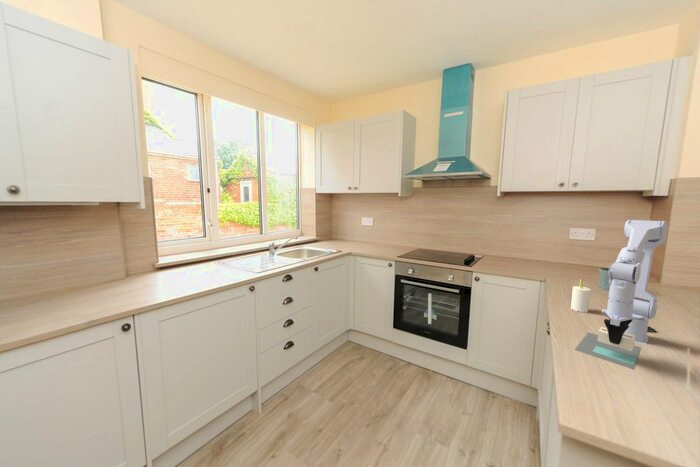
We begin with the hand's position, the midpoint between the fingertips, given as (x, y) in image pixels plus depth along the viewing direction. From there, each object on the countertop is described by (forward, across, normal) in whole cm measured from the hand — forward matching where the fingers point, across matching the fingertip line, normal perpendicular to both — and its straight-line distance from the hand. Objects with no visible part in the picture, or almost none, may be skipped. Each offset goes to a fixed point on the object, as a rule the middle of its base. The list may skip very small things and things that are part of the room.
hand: (615, 340), depth 88 cm
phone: (+6, -40, 0) cm, 41 cm away
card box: (+1, 0, 0) cm, 1 cm away
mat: (+6, -4, -2) cm, 7 cm away
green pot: (+6, -95, -14) cm, 96 cm away
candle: (+6, -42, -17) cm, 46 cm away
